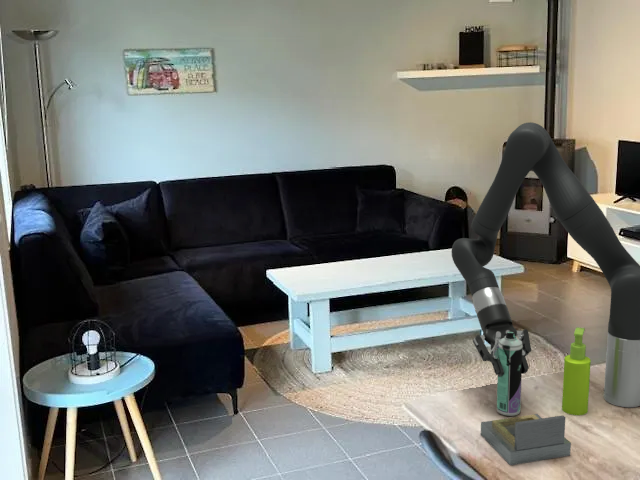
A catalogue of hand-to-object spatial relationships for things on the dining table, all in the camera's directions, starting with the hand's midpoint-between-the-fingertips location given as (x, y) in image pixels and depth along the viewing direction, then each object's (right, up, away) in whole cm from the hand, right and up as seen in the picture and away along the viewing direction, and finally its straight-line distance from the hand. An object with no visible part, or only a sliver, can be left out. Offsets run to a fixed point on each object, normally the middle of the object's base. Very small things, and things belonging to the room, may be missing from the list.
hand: (513, 373), depth 178 cm
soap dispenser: (+16, -10, +5) cm, 19 cm away
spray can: (0, -10, +4) cm, 11 cm away
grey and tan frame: (0, -14, -11) cm, 18 cm away
